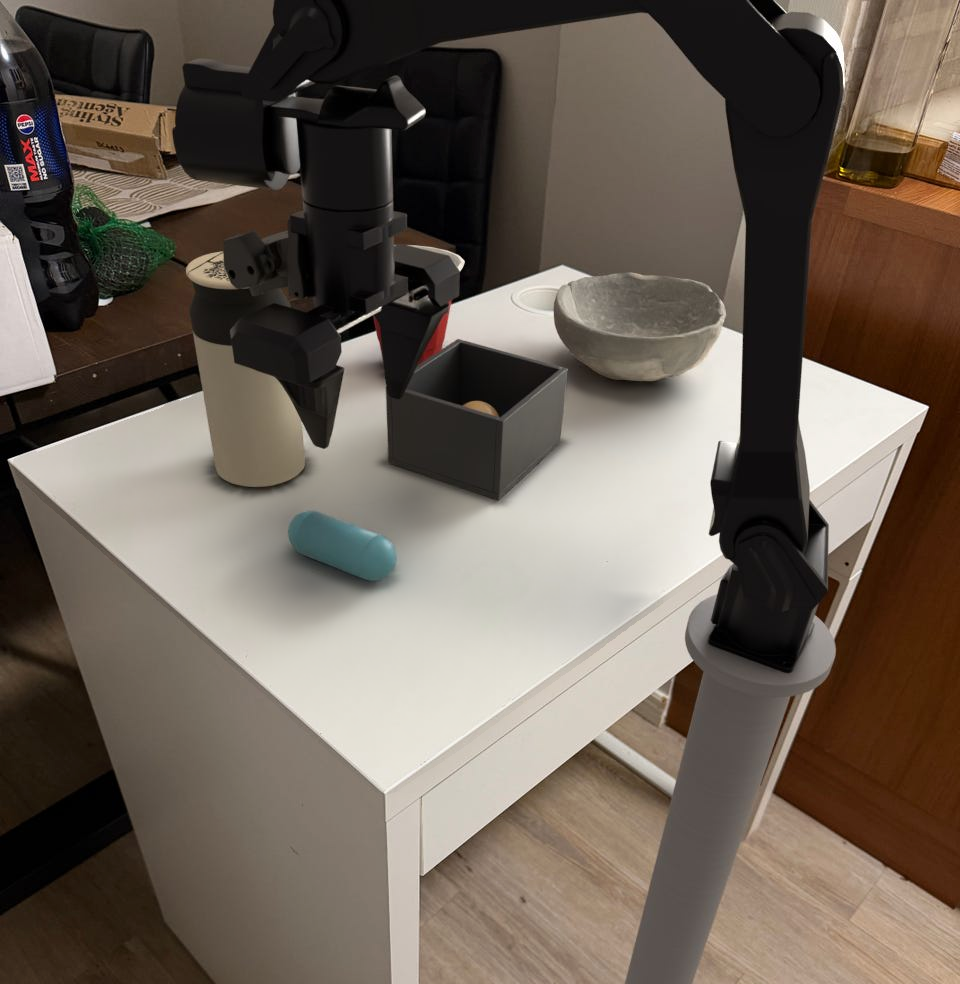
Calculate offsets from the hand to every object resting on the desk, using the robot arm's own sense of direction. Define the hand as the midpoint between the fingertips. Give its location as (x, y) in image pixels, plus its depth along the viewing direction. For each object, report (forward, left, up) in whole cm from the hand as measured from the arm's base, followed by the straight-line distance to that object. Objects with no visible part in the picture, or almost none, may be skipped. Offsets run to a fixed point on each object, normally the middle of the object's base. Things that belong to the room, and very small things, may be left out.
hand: (359, 421), depth 70 cm
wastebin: (0, -18, -11) cm, 21 cm away
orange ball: (0, -18, -10) cm, 21 cm away
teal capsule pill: (0, +3, -11) cm, 11 cm away
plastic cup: (+15, -30, -11) cm, 35 cm away
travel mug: (+15, -5, -11) cm, 19 cm away
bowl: (-5, -43, -11) cm, 44 cm away
